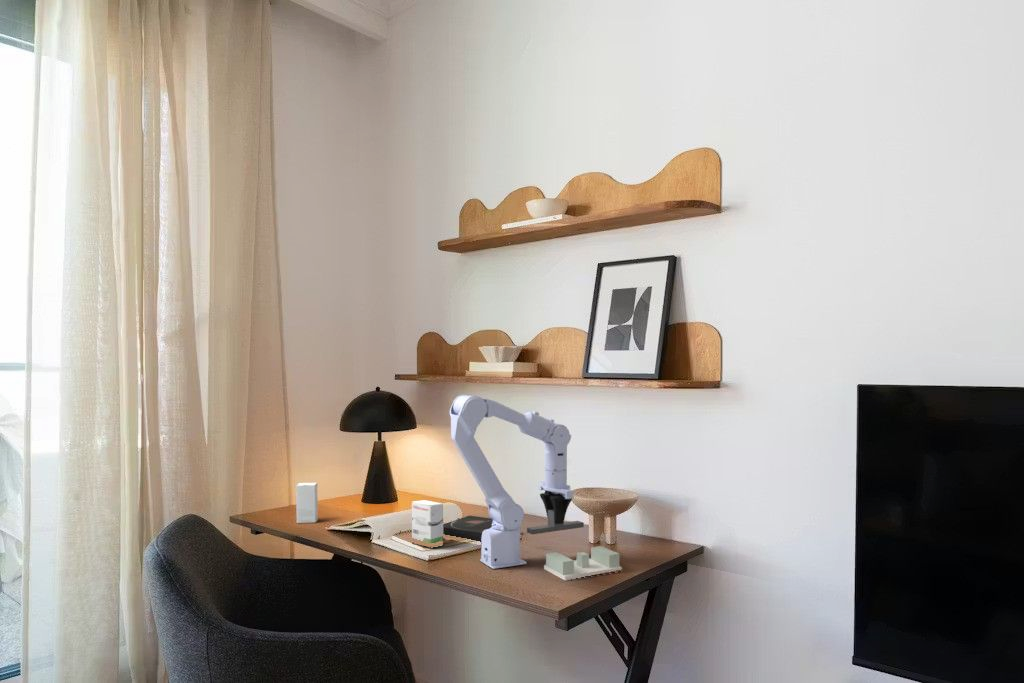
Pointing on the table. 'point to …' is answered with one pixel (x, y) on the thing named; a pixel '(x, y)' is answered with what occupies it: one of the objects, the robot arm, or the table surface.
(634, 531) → the table surface
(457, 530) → the portable cd player
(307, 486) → the skincare box
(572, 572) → the stand
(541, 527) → the grey inverted t block
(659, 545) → the table surface
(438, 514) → the ink box
